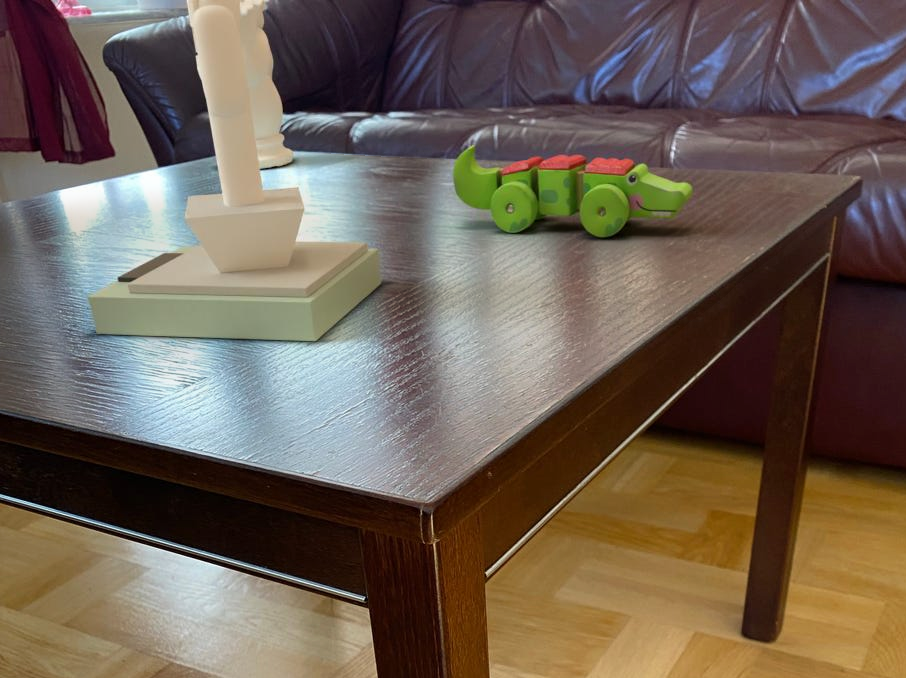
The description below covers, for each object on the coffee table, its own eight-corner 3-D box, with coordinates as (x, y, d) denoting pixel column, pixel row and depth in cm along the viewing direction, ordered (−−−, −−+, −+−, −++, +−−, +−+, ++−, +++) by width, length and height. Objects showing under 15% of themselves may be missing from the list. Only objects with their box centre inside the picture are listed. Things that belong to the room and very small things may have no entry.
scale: (96, 334, 65) (84, 286, 63) (189, 279, 76) (181, 237, 74) (315, 341, 62) (309, 291, 60) (381, 283, 72) (377, 239, 71)
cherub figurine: (264, 154, 124) (232, -66, 111) (340, 160, 118) (315, -72, 105) (188, 171, 116) (143, -64, 103) (265, 179, 110) (228, -70, 97)
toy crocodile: (697, 224, 83) (702, 142, 80) (675, 243, 78) (680, 156, 75) (477, 213, 90) (474, 138, 87) (444, 230, 85) (440, 151, 82)
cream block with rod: (304, 240, 71) (271, -14, 63) (313, 274, 64) (277, -11, 55) (199, 250, 70) (151, -8, 62) (195, 285, 62) (140, -4, 54)
